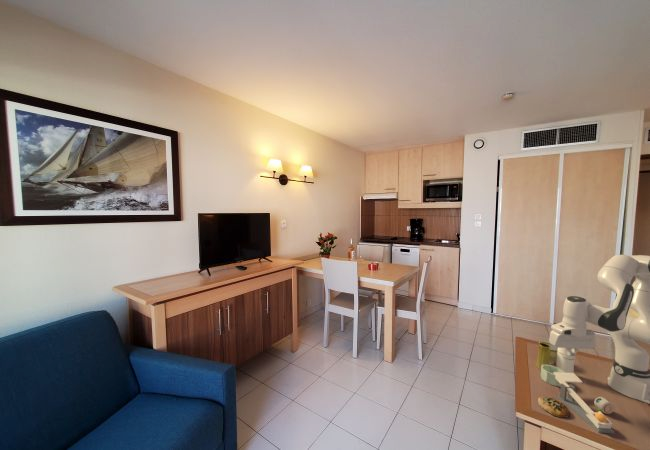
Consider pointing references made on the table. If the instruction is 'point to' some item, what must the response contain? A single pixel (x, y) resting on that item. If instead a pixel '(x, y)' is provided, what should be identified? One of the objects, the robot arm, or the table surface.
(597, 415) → the ball
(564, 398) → the catapult base
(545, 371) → the cup
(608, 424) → the lever
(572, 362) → the cylindrical container
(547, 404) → the bread roll
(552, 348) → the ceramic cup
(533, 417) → the table surface
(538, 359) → the vase
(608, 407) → the roller toy
